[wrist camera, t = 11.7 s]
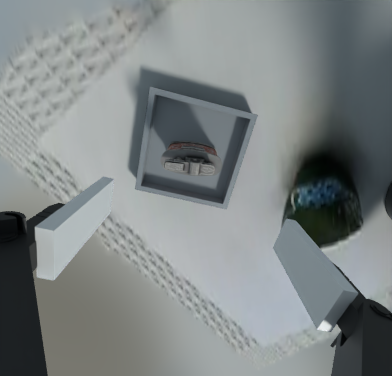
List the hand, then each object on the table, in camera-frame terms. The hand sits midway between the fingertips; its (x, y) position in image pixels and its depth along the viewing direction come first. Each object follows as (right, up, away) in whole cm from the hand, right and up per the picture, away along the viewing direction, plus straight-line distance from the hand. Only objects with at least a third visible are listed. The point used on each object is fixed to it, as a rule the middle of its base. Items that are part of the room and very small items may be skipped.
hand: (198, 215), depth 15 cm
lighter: (-1, +8, +19) cm, 20 cm away
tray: (-1, +8, +19) cm, 21 cm away
